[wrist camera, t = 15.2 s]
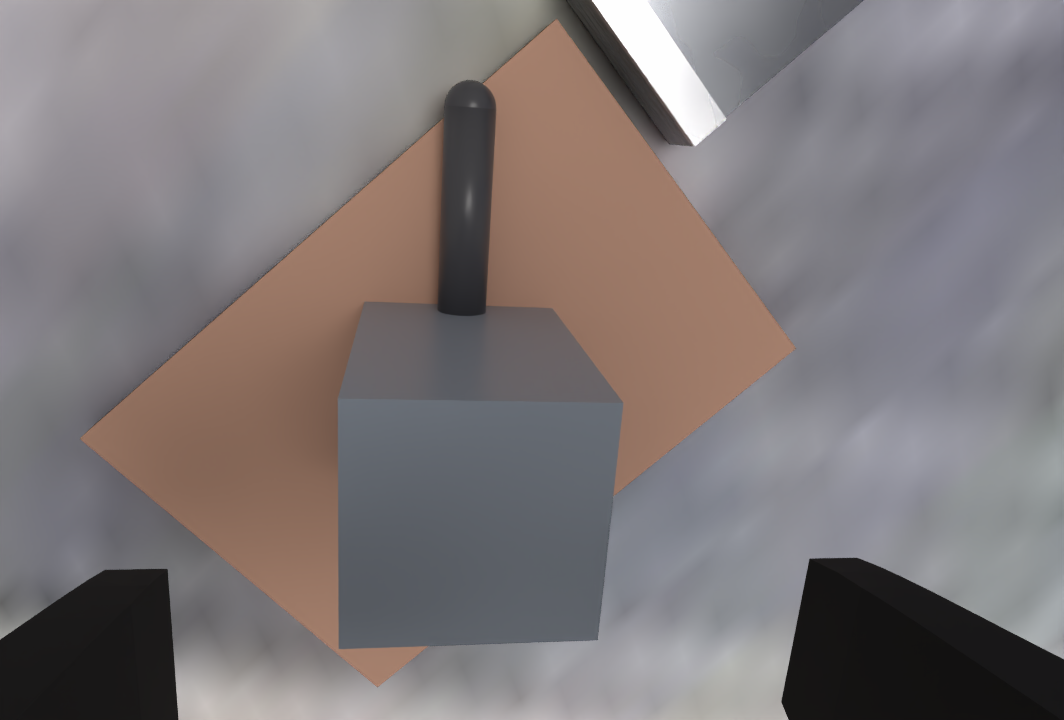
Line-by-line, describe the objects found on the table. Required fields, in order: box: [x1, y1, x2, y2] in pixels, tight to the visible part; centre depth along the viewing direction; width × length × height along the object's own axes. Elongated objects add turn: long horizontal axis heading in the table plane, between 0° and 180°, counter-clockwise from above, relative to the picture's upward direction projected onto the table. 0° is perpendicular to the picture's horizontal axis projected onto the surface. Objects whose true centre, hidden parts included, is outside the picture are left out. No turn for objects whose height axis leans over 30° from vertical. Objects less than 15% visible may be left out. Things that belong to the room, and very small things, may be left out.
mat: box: [80, 19, 796, 687], centre depth 17 cm, size 9×13×1 cm
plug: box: [338, 80, 623, 649], centre depth 14 cm, size 4×8×6 cm, turn 176°
